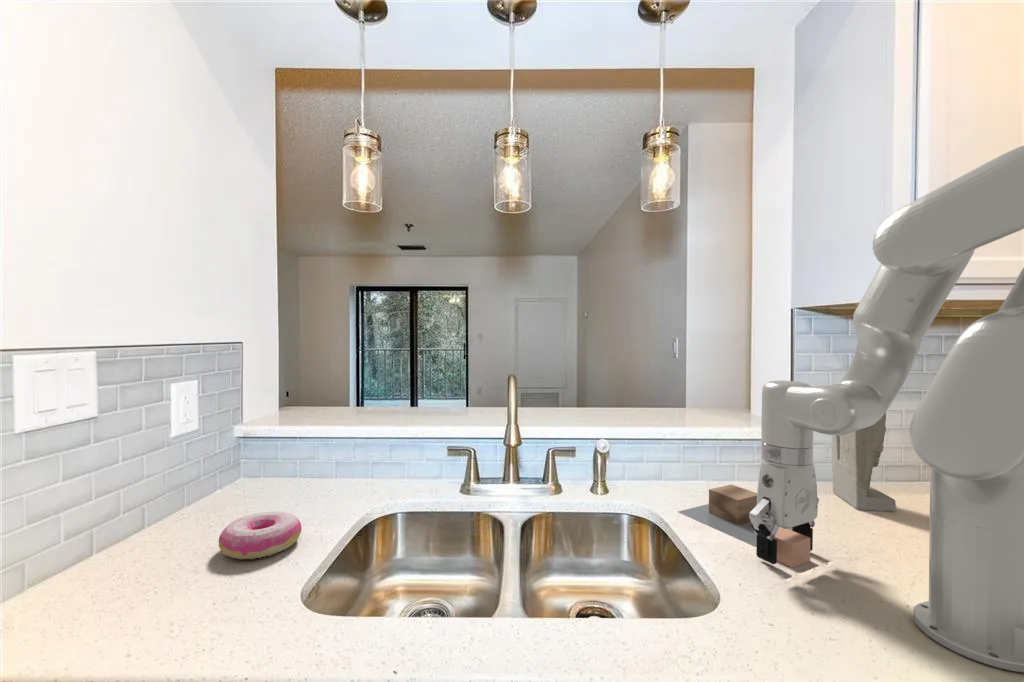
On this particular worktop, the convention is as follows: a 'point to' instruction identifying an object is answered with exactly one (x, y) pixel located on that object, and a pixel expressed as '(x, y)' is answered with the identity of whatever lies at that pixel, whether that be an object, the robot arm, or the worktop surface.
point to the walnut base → (732, 503)
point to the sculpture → (859, 467)
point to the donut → (259, 535)
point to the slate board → (724, 524)
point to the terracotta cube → (792, 547)
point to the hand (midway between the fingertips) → (784, 553)
